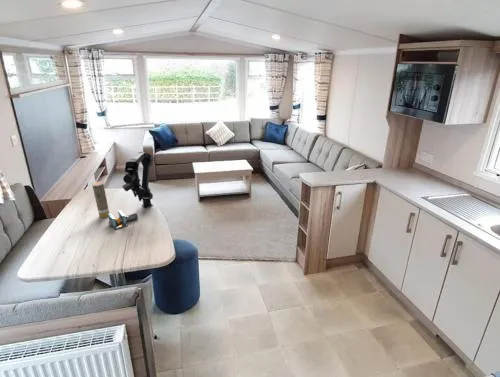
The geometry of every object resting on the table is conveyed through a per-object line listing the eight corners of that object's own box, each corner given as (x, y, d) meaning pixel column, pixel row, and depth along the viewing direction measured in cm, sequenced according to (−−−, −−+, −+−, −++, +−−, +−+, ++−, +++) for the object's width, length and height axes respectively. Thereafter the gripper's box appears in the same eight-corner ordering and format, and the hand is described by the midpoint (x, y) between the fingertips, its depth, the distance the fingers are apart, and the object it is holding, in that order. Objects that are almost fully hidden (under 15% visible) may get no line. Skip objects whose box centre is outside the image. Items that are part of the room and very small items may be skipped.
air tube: (111, 227, 204) (110, 222, 202) (109, 224, 207) (108, 219, 205) (138, 219, 215) (137, 214, 213) (136, 217, 218) (135, 211, 216)
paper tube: (111, 213, 223) (105, 181, 213) (106, 218, 216) (99, 185, 206) (102, 213, 223) (95, 181, 213) (97, 218, 217) (90, 185, 207)
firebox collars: (108, 221, 212) (106, 212, 209) (121, 218, 216) (119, 208, 213) (115, 230, 202) (113, 220, 199) (127, 226, 206) (125, 216, 203)
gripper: (118, 177, 214) (122, 197, 220) (127, 185, 200) (130, 206, 206) (134, 173, 220) (137, 193, 226) (144, 181, 206) (147, 202, 212)
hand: (137, 198), depth 217 cm, fingers open, 9 cm apart
